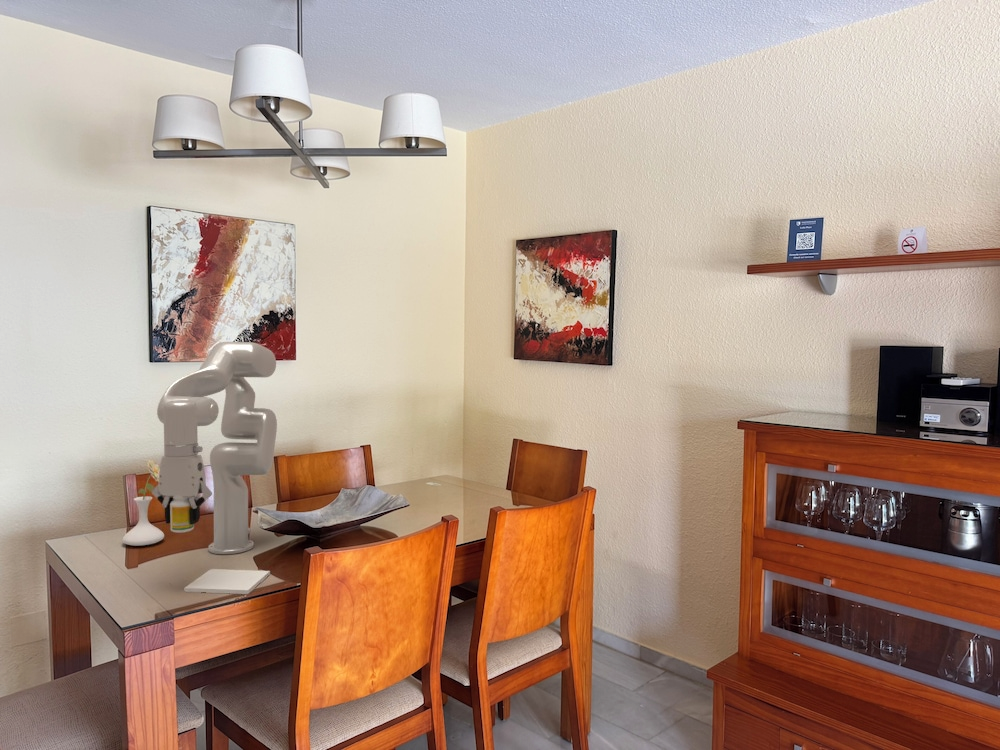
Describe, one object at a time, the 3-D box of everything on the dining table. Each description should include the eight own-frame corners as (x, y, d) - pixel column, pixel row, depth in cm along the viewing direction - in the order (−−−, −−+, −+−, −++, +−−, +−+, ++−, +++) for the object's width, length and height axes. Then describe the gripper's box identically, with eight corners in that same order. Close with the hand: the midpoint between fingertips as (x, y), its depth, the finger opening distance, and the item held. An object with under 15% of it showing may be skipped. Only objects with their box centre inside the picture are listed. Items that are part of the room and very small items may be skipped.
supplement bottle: (167, 529, 171) (166, 491, 171) (189, 525, 175) (188, 488, 175) (175, 534, 168) (174, 495, 167) (197, 530, 172) (197, 492, 171)
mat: (211, 572, 184) (211, 569, 184) (269, 574, 183) (269, 571, 183) (184, 591, 170) (184, 587, 170) (247, 594, 169) (247, 590, 169)
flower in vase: (146, 550, 202) (146, 465, 201) (113, 547, 204) (112, 463, 203) (176, 537, 215) (175, 458, 213) (144, 535, 217) (143, 456, 216)
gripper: (221, 448, 173) (222, 519, 174) (156, 446, 174) (158, 517, 176) (206, 454, 166) (208, 528, 167) (138, 452, 167) (140, 525, 168)
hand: (182, 521), depth 171 cm, fingers closed on supplement bottle, 5 cm apart
